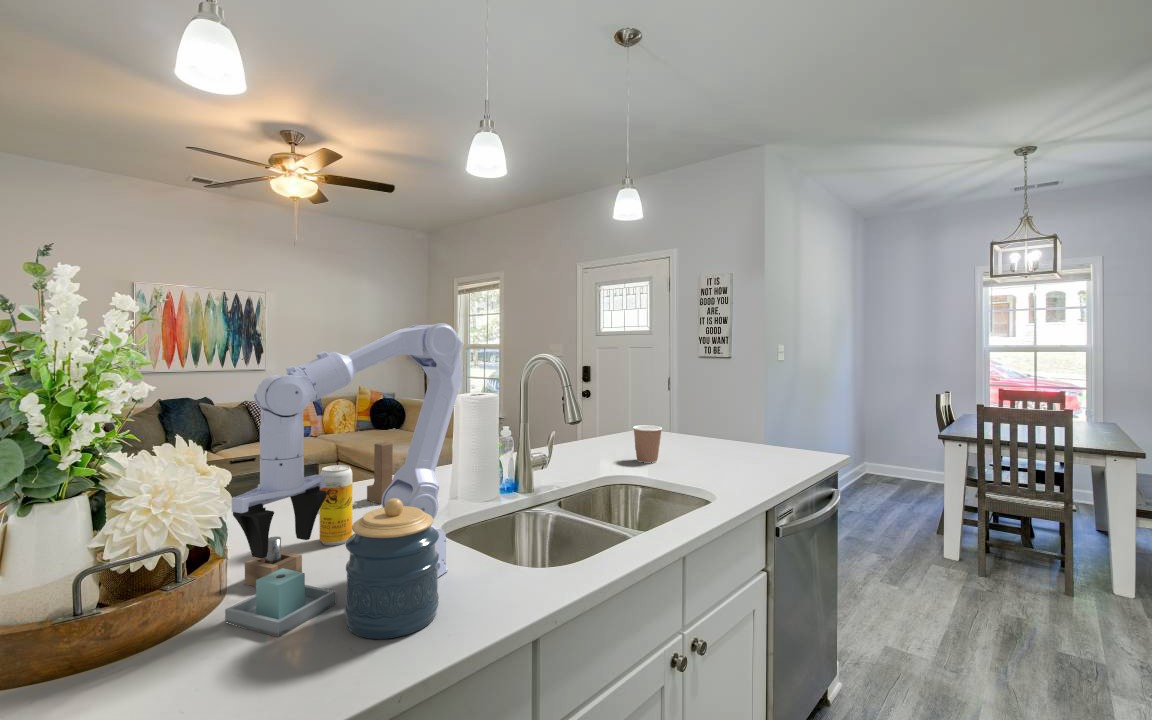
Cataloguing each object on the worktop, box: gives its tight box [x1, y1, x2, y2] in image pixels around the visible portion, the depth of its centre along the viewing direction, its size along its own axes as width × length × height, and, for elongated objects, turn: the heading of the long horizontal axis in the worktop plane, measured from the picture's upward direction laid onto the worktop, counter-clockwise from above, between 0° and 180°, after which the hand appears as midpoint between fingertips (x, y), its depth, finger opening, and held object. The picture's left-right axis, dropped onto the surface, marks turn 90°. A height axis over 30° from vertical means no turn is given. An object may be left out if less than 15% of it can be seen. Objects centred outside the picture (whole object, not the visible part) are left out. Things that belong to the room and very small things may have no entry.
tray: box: [224, 584, 337, 638], centre depth 80 cm, size 10×10×2 cm
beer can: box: [319, 464, 353, 546], centre depth 109 cm, size 6×6×15 cm
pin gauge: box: [265, 536, 282, 564], centre depth 91 cm, size 2×2×7 cm
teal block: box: [255, 568, 306, 620], centre depth 80 cm, size 4×4×5 cm
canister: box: [344, 498, 439, 640], centre depth 79 cm, size 13×13×18 cm
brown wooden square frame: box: [244, 550, 303, 587], centre depth 91 cm, size 6×6×4 cm
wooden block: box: [366, 441, 394, 505], centre depth 138 cm, size 7×3×15 cm, turn 53°
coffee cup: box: [632, 424, 663, 464], centre depth 190 cm, size 10×10×12 cm
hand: (282, 547), depth 80 cm, fingers open, 7 cm apart
